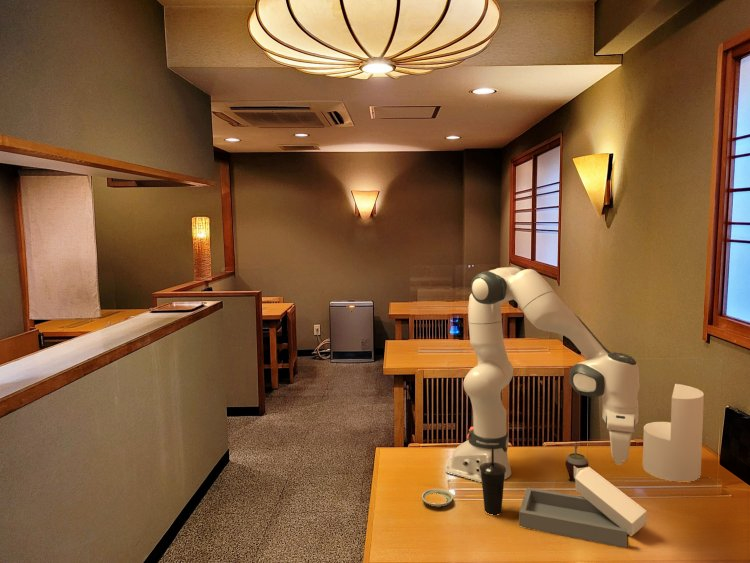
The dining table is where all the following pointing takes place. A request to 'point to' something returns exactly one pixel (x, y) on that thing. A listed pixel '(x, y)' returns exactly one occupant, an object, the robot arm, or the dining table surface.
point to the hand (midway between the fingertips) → (618, 462)
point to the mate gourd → (575, 463)
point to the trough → (569, 517)
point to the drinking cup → (492, 485)
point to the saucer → (441, 492)
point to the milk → (609, 500)
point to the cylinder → (676, 438)
